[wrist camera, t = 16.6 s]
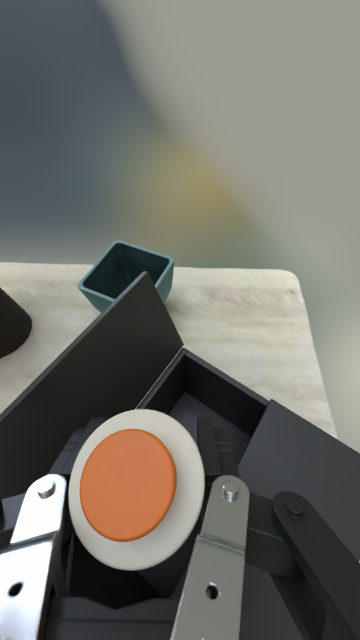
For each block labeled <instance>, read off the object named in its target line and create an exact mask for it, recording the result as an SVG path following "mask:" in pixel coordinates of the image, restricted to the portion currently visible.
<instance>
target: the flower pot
mask: <svg viewBox="0 0 360 640" xmlns="http://www.w3.org/2000/svg"><path fill="white" fill-rule="evenodd" d="M173 268H174V258H172V257H169V256H166V255H163V254H160V253H156V252H153V251H150V250H147V249H144V248H141V247H138V246H135V245H132V244H129V243H126V242H123V241H120V240H116V241H114V242H113V243H112V244H111V246H110V247H109V248H108V249H107V251H106V252H105V253H104V254H103V255H102V257H101V258H100V259H99V260H98V262H97V263H96V264H95V265H94V266H93V267H92V269H91V270H90V271H89V272H88V273H87V274H86V275H85V277H84V278H83V279H82V280H81V281H80V282H79V284H78V288H79V289H80V290H81V292H82V293H83V294H84V295H85V296H86V298H87V299H88V300H89V301H90V302H91V303H92V304H93V306H94V307H95V308H96V309H98V310H99V311H100V312H103V311H104V310H105V309H106V308H107V307H108V306H109V305H110V304H111V303H112V302H113V301H114V300H115V299H116V298H117V297H118V296H119V295H120V294H121V293H122V292H123V291H124V290H125V289H126V288H127V287H128V286H129V285H130V284H131V283H132V282H133V281H134V280H135V279H136V278H137V277H138V276H139V275H140V274H141V273H142V272H143V271H146V272H148V273H149V275H150V277H151V279H152V281H153V283H154V285H155V287H156V289H157V291H158V293H159V296H160V298H161V300H162V302H163V303H164V302H165V300H166V298H167V296H168V294H169V292H170V290H171V286H172V279H173Z"/></svg>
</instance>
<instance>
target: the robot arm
mask: <svg viewBox="0 0 360 640" xmlns="http://www.w3.org/2000/svg"><path fill="white" fill-rule="evenodd" d="M108 419H109V417H108V416H93V417H92V418H91V420H90V422H89V423H88V425H87V427H80V428H79V429H78V430H76V431H75V432H74V433H73V434H72V435H71V437H70V439H69V440H68V442H67V444H66V445H65V447H64V448H63V451H61V453H60V455H59V456H58V458H57V459H56V461H55V463H54V464H53V466H52V467H51V469H50V471H49V472H48V474H47V475H46V476H44V477H42V478H40V479H38V480H37V481H35V482H34V483H33V484H32V485H31V486H30V487H29V489H28V490H27V492H26V493H23V494H20V495H16V496H13V497H9V498H5V499H1V496H0V640H239V631H240V618H241V605H242V591H243V578H244V564H245V563H248V564H250V565H253V566H255V567H258V568H260V569H263V570H265V571H268V572H269V574H270V576H271V578H272V580H273V582H274V583H275V585H276V587H277V589H278V591H279V593H280V595H281V597H282V599H283V601H284V603H285V605H286V607H287V609H288V611H289V613H290V615H291V617H292V619H293V620H294V622H295V624H296V626H297V628H298V630H299V632H300V634H301V636H302V638H303V640H360V563H359V562H358V561H357V560H356V558H355V557H354V556H353V555H352V554H351V552H350V551H349V550H348V549H347V548H346V546H345V545H344V544H343V543H342V541H341V540H340V539H339V538H338V537H337V535H336V534H335V533H334V532H333V530H332V529H331V528H330V527H329V526H328V524H327V523H326V522H325V521H324V520H323V518H322V517H321V516H320V515H319V513H318V512H317V511H316V510H315V509H314V507H313V506H312V505H311V504H310V503H309V502H308V501H307V500H306V499H305V498H304V497H302V496H300V495H299V494H296V493H293V492H289V491H284V492H280V493H278V494H276V495H275V496H274V498H273V500H271V499H268V498H265V497H261V496H259V495H256V494H254V493H252V492H251V491H249V489H248V487H247V485H246V484H245V483H244V482H243V481H242V480H241V479H240V476H239V472H238V468H237V464H236V460H235V456H234V452H233V448H232V444H231V440H230V436H229V434H228V432H227V431H226V430H225V429H224V428H223V427H214V425H213V419H212V416H197V447H198V450H199V453H200V455H201V459H202V463H203V467H204V475H205V490H204V499H203V504H202V508H201V519H202V523H203V524H202V528H201V532H200V535H199V534H198V535H197V537H196V540H195V543H194V547H193V551H192V555H191V559H190V563H189V567H188V571H187V575H186V578H185V582H184V586H183V590H182V594H181V598H152V599H149V600H146V601H142V602H139V603H136V604H133V605H130V606H127V607H124V608H121V609H113V608H110V607H108V606H105V605H103V604H100V603H98V602H95V601H93V600H90V599H88V598H85V597H69V589H70V579H71V568H72V558H73V547H74V532H73V528H74V526H73V524H72V520H71V516H70V510H69V483H70V478H71V473H72V469H73V466H74V463H75V461H76V458H77V456H78V454H79V452H80V450H81V448H82V447H83V445H84V443H85V442H86V441H87V439H88V438H89V437H90V435H91V434H92V433H93V432H94V431H95V430H96V429H97V428H98V427H99V426H100V425H102V424H103V423H104V422H106V421H107V420H108Z"/></svg>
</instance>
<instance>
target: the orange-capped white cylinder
mask: <svg viewBox="0 0 360 640" xmlns="http://www.w3.org/2000/svg"><path fill="white" fill-rule="evenodd" d="M204 490H205V475H204V467H203V463H202V459H201V455H200V453H199V450H198V447H197V445H196V443H195V442H194V440H193V438H192V437H191V435H190V434H189V432H188V431H187V430H186V429H185V428H184V427H183V426H182V425H181V424H180V423H179V422H178V421H176V420H175V419H173V418H172V417H170V416H168V415H166V414H164V413H162V412H158V411H155V410H149V409H137V410H130V411H126V412H123V413H120V414H118V415H116V416H114V417H112V418H110V419H108V420H107V421H106V422H104V423H103V424H102V425H100V426H99V427H98V428H97V429H96V430H95V431H94V432H93V433H92V434H91V435H90V437H89V438H88V439H87V441H86V442H85V443H84V445H83V447H82V448H81V450H80V452H79V454H78V456H77V458H76V461H75V463H74V466H73V469H72V473H71V478H70V483H69V510H70V516H71V520H72V524H73V526H74V529H75V531H76V534H77V536H78V538H79V539H80V541H81V543H82V544H83V546H84V547H85V548H86V549H87V551H88V552H89V553H90V554H91V555H92V556H94V557H95V558H96V559H97V560H99V561H100V562H102V563H103V564H105V565H108V566H110V567H112V568H116V569H120V570H128V571H135V570H143V569H146V568H150V567H153V566H155V565H157V564H159V563H161V562H163V561H165V560H166V559H167V558H169V557H170V556H172V555H173V554H174V553H175V552H176V551H177V550H178V549H179V548H180V547H181V546H182V545H183V544H184V542H185V541H186V540H187V539H188V537H189V535H190V534H191V532H192V530H193V529H194V527H195V524H196V522H197V520H198V518H199V515H200V512H201V508H202V504H203V499H204Z"/></svg>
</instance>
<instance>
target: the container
mask: <svg viewBox="0 0 360 640" xmlns="http://www.w3.org/2000/svg"><path fill="white" fill-rule="evenodd" d="M30 329H31V318H30V316H29V315H28V314H27V313H26V312H25V311H24V310H23V309H22V308H21V307H20V306H19V305H18V304H17V303H16V302H15V301H14V300H13V299H12V298H11V297H10V296H9V295H7V294H6V293H5V292H4V291H3V290H2V289H1V288H0V357H2V356H5V355H7V354H9V353H10V352H12V351H13V350H15V349H16V348H18V347H19V346H20V345H21V344H22V343H23V342H24V340H25V339H26V338H27V336H28V334H29V332H30Z"/></svg>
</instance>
